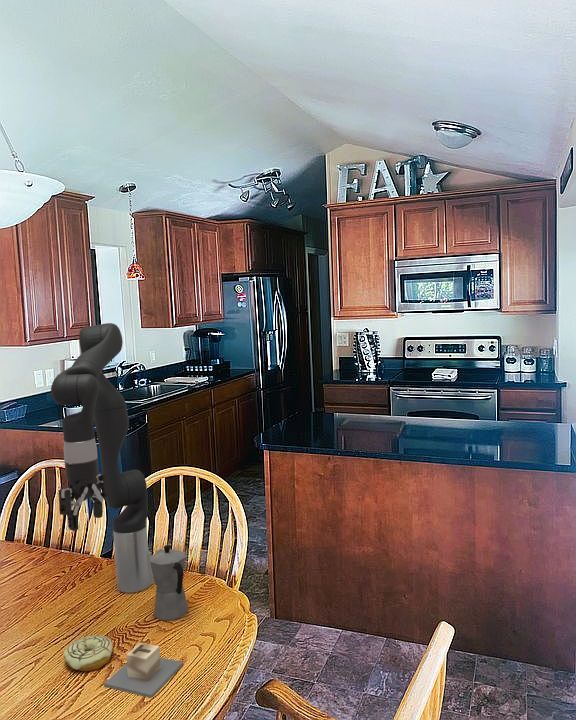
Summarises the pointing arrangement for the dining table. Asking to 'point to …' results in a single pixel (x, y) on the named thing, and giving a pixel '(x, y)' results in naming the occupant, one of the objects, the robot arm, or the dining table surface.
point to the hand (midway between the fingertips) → (86, 523)
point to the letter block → (143, 661)
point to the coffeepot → (169, 584)
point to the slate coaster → (141, 686)
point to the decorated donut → (88, 653)
